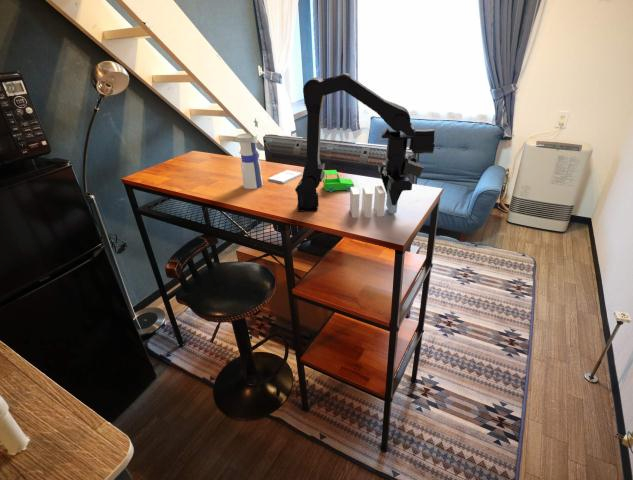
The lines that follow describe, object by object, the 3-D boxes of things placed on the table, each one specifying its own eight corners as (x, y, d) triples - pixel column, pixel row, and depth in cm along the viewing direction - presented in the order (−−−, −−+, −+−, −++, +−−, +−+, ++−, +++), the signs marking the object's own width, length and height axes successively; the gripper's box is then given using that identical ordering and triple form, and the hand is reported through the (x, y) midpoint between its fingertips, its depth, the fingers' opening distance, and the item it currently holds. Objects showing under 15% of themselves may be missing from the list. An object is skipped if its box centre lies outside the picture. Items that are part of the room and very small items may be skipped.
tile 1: (352, 217, 109) (352, 194, 105) (349, 209, 114) (350, 187, 110) (358, 217, 109) (359, 194, 105) (355, 209, 114) (356, 186, 110)
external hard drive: (267, 181, 140) (287, 172, 149) (283, 185, 136) (302, 176, 145) (267, 178, 139) (287, 169, 148) (283, 181, 135) (302, 172, 144)
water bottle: (252, 180, 140) (244, 116, 128) (268, 184, 136) (261, 118, 123) (237, 186, 135) (227, 120, 122) (253, 190, 130) (244, 122, 118)
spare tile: (390, 213, 109) (392, 189, 105) (386, 205, 114) (388, 182, 110) (396, 213, 109) (398, 189, 105) (392, 205, 114) (394, 182, 110)
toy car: (324, 192, 127) (324, 175, 124) (322, 186, 133) (322, 169, 130) (354, 191, 128) (355, 174, 125) (350, 184, 134) (351, 168, 131)
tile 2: (364, 217, 109) (366, 193, 105) (361, 209, 114) (362, 186, 110) (371, 216, 109) (372, 193, 105) (367, 208, 114) (369, 186, 110)
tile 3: (377, 216, 109) (379, 193, 105) (373, 208, 114) (375, 186, 110) (383, 216, 109) (385, 193, 105) (379, 208, 114) (381, 185, 110)
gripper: (433, 161, 94) (425, 212, 102) (413, 143, 110) (408, 189, 118) (393, 162, 94) (388, 214, 102) (379, 144, 110) (376, 190, 118)
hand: (391, 201), depth 110 cm, fingers closed on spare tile, 6 cm apart
